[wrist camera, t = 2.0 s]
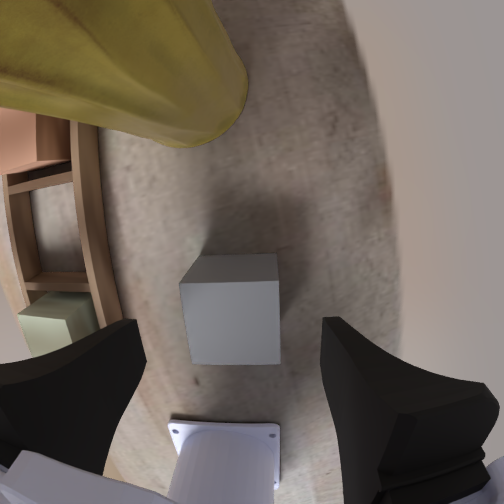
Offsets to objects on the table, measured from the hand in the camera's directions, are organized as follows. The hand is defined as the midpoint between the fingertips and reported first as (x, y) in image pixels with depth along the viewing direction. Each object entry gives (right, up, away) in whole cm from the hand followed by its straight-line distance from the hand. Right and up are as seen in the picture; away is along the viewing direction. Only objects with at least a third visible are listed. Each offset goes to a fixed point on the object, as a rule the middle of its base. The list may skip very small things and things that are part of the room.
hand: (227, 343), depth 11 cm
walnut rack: (-10, +5, +5) cm, 12 cm away
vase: (-2, +12, +3) cm, 12 cm away
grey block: (0, +1, +5) cm, 5 cm away
